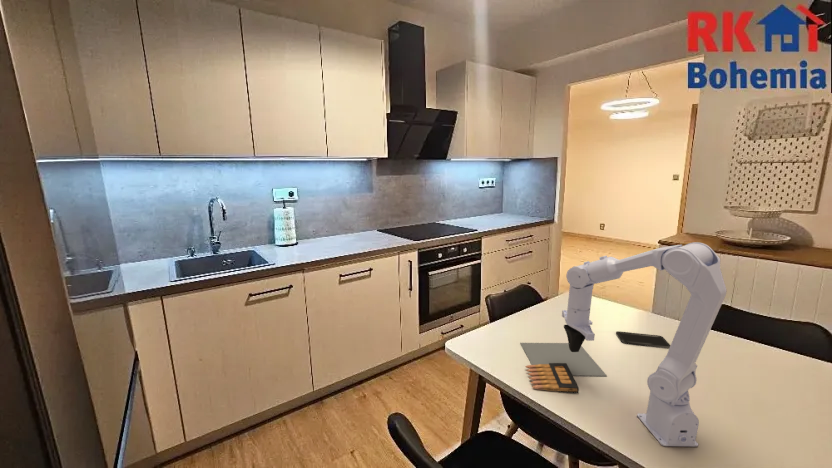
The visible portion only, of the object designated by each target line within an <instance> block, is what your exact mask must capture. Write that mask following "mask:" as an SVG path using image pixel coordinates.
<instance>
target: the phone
mask: <svg viewBox="0 0 832 468" xmlns="http://www.w3.org/2000/svg"><path fill="white" fill-rule="evenodd" d="M615 336H616V337H617V339H618V340H619V342H620V343H621V344H624V345H630V346H637V347H647V348H657V349H658V348H659V349H665V350H667V349H668V350H669V348H670V346H671V343H669V342H668V341H667V339H665V338H664V337H663V336H662V335H656V334H648V333H637V332H630V331H629V332H628V331H627V332H626V331H620V330H619V331H615Z"/></svg>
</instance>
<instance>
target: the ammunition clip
mask: <svg viewBox="0 0 832 468" xmlns="http://www.w3.org/2000/svg"><path fill="white" fill-rule="evenodd" d="M525 368H527V369H526V372H529V373H527V376H530V377H528V378H529V380H531V382H530V384H532V386H531V388H532V389H535V390H541V391H542V390H543V391H549V392H550V391H551V392H552V391H553V392H558V393H567V394H579V389H580V387H579V385H578V383H577V380H575V376H573V375H572V373H571V371H570V369H569V367H568V365H567V363H549V364H538V365H532V364H527V365H526V366H525Z"/></svg>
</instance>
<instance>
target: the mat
mask: <svg viewBox="0 0 832 468" xmlns="http://www.w3.org/2000/svg"><path fill="white" fill-rule="evenodd" d="M520 345H521V347H522V349H523V352H524V353H525V355H526V357H527V358H528V360H529V363H530V365H538V364H549V363H567V365H568V367H569V369H570V371H571V373H572V375H573V377H608V375H607V374H606V372H604V371H603V369H602V368H601V366H599V364H597V362H596V361H595V360H594V359H593V357H592V356H591V355H590V354H589V353H588V351H587V350H585V349H584V347H583V346H582V345H581V348H580V350H579V352H571V351H570V349H569V343H568V342H520Z"/></svg>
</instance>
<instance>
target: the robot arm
mask: <svg viewBox="0 0 832 468" xmlns="http://www.w3.org/2000/svg"><path fill="white" fill-rule="evenodd" d="M649 267H654V269H655V268H656V269H657V270H659V271H664V270H665V271H666V272H667V274H669V275H671V276H672V277H673V278H674V279H675V280H677V281H678V282H679V283H680V284H682V285H683V287H685V288H686V289H687V291H688V292H689V293H690V297H689V300H688V302H687V304H686V307H685V310H684V311H683V314H682V317H681V319H680V320H679V321H680V322H679V323H678V326H677V329H676V331H675V333H674V336H673V339H672V341H671V343H670V345H671V346H670V348H669V349H668V351H667V354H666V355H665V356H664V358H663V360H662V361H661V362H660V363H659V365H658V367H657V368H656V370H655V371H654V372H652V373H651V374H649V376H648V377H647V387H648V389H649V396H648V401H647V408H646V413H638V412H637V414H636V415H637V418H638V419H639V420H640V421H641V423H643V425H644V426H645V427H646V428H647V429H648V431H649V432H650V433H651V434H652V435H653V436H654V438H655V439H656V440H657V441H658V442H659V444H660V445H661V446H663V447H698V446H699V443H698V442H697V441H696V440H697V435H698V429H699V425H700V421H699V418H698V416H697V415H696V414H695V413H694V411H693V409H692V407H691V404H690V400H691V399H690V394H689V390H690V389H693V388H694V387H695V386H696V385H697V380H698V379H697V375H696V371H697V368H698V365H697V364H696V362H697V360H698V358H699V356H700V353H701V351H702V350H703V347H704V345H705V343H706V340H707V339H708V336H709V333H710V331H711V329H712V326H713V324H714V323H715V320H716V318H717V315H718V313H719V311H720V309H721V307H722V305H723V303H724V300H725V298H726V296H727V286H726V283H725V280H724V276H723V273H722V269H721V258H720V257H719V256H718V254H717V253H716V252H715V251H714V249H712V248H711V247H710V246H709V245H708V244H706V243H703V242H700V241H699V242H698V241H696V242H694V241H693V242H690V243H687V244H684V245H683V244H677V245H670V246H663V247H658V248H655V249H654V248H653V249H650V250H648V251H645V252H641V253H638V254H635V255H631V256H628V257H624V258H621V259H618V258H616V257H614V256H608V255H602V256H600V257H599V259H597V260H593V261H589V260H588V261H584V262H583V264H579V265H576V266H575V265H574V266H572V267H570V268H569V269H568V270H567V272H566V280H567V283H568V284H569V287H568V288H569V289H568V290H569V291H568V300H567V308H566V310H565V309H564V310H563V309H562V310H561V317H562V318H564V323H565V324H563V328H564V331H565V334H566V337H567V343H569V349H570V351H571V352H579V350H580V348H581V346H582V345H583V343H584V342H585V341H587V342H589V341H590V342H591V341H595V336H596V335H595V333H594V332H593V329H592V325H593V321H592V320H590V315H591V314H590V313H591V306H592V299H593V290H594V285H595V284H600V283H605V282H609V281H614V280H618V279H620V278H621V277H622V276H623V274H624V273H625V272H630V271H634V270H640V269H644V268H649Z"/></svg>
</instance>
